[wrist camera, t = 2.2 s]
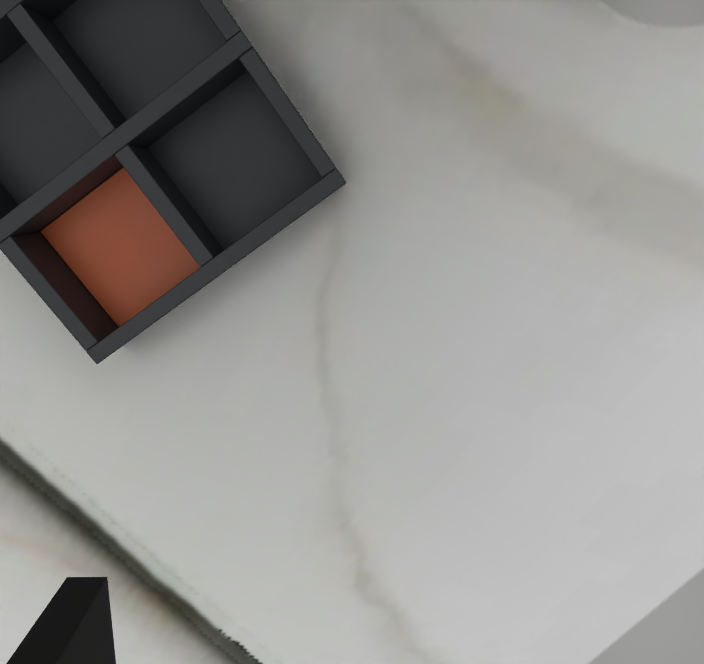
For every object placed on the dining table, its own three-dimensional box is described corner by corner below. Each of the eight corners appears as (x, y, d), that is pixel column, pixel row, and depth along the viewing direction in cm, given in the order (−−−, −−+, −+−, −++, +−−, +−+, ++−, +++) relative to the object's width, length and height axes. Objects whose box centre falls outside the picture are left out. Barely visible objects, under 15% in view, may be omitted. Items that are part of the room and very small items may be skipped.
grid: (-75, 108, 30) (-128, 98, 27) (160, -87, 28) (135, -124, 25) (121, 346, 33) (96, 364, 30) (346, 183, 31) (346, 182, 28)
